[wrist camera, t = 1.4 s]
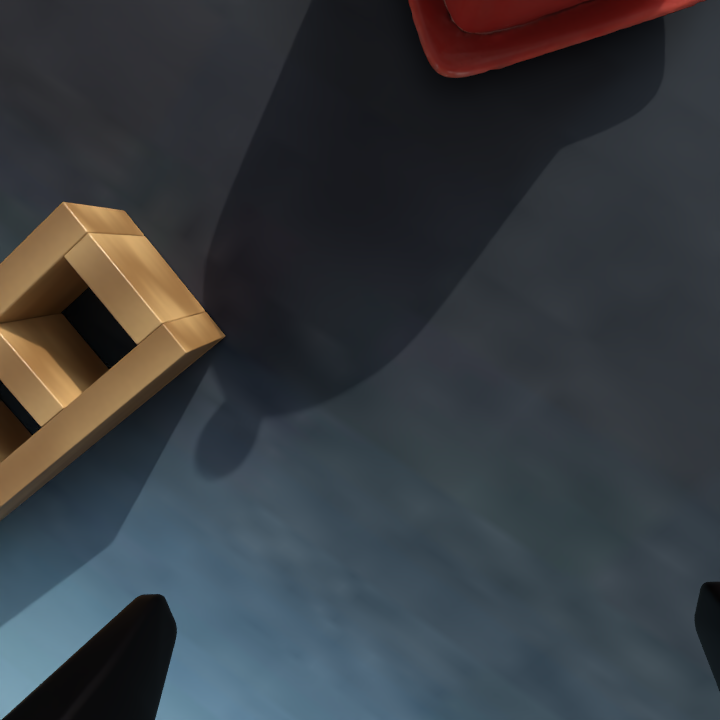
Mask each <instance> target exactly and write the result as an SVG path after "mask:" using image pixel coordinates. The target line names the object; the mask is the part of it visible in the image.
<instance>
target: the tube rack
mask: <svg viewBox="0 0 720 720" xmlns="http://www.w3.org/2000/svg"><path fill="white" fill-rule="evenodd" d="M88 287H90V289H91V290H92V291H93V292H94V293H95V295H96V296H97V297H98V298H99V299H100V301H101V302H102V303H103V304H104V305H105V307H106V308H107V309H108V310H109V312H110V313H111V314H112V315H113V316H114V318H115V319H116V320H117V321H118V322H119V324H120V325H121V326H122V327H123V328H124V330H125V331H126V332H127V333H128V334H129V336H130V337H131V338H132V339H133V340H134V342H135V343H136V344H137V346H136V347H135V348H134V349H133V350H132V351H130V352H129V353H128V354H127V355H126V356H125V357H123V358H122V359H121V360H120V361H119V362H118V363H116V364H115V365H114V366H113V367H112V368H111V369H108V368H107V366H106V365H105V364H104V363H103V362H102V361H101V359H100V358H99V357H98V356H97V355H96V353H95V352H94V351H93V350H92V349H91V347H90V346H89V345H88V344H87V343H86V341H85V340H84V339H83V338H82V337H81V336H80V334H79V333H78V332H77V331H76V330H75V328H74V327H73V326H72V325H71V324H70V322H69V321H68V320H67V319H66V318H65V316H64V315H63V314H62V313H61V312H62V311H63V310H64V309H66V308H67V307H68V306H69V305H70V304H71V303H72V302H73V301H74V300H75V299H76V298H77V297H79V296H80V295H81V294H82V293H83V292H84V291H85V290H86V289H87V288H88ZM224 337H225V335H224V333H223V332H222V331H221V330H220V328H219V327H218V326H217V325H216V323H215V322H214V321H213V320H212V319H211V317H210V316H209V315H208V314H207V312H205V310H204V309H203V307H202V306H201V305H200V304H199V302H198V301H197V300H196V299H195V297H194V296H193V295H192V294H191V293H190V291H189V290H188V289H187V288H186V286H185V285H184V284H183V283H182V281H181V280H180V279H179V278H178V276H177V275H176V274H175V273H174V271H173V270H172V269H171V268H170V267H169V265H168V264H167V263H166V262H165V260H164V259H163V258H162V257H161V255H160V254H159V253H158V252H157V250H156V249H155V248H154V247H153V245H152V244H151V243H150V242H149V240H148V239H147V238H146V237H145V236H144V234H143V233H142V232H141V231H140V230H139V228H138V227H137V226H136V225H135V223H134V222H133V221H132V220H131V218H130V217H129V216H128V215H127V213H126V212H125V211H123V210H116V209H109V208H102V207H95V206H88V205H81V204H74V203H67V202H63V203H61V204H60V205H59V206H58V207H57V208H56V209H55V210H54V211H53V212H52V213H51V214H50V215H49V216H48V217H47V218H46V219H45V220H44V221H43V222H42V223H41V224H40V225H39V226H38V227H37V228H36V229H35V230H34V231H33V232H32V233H31V234H30V235H29V236H28V237H27V238H26V239H25V240H24V241H23V242H22V243H21V244H20V245H19V246H18V247H17V248H16V249H15V250H14V251H13V252H12V253H11V254H10V255H9V256H8V257H7V258H6V259H5V260H4V261H3V262H2V263H1V264H0V380H1V381H2V382H3V384H4V385H5V386H6V387H7V388H8V389H9V391H10V392H11V393H12V394H13V395H14V396H15V397H16V399H17V400H18V401H19V402H20V403H21V404H22V406H23V407H24V408H25V409H26V410H27V411H28V412H29V414H30V415H31V416H32V417H33V418H34V419H35V421H36V422H37V423H38V424H39V425H40V426H41V427H42V428H41V429H40V430H38V431H37V432H36V433H35V434H34V435H33V436H32V435H31V434H30V432H29V431H28V430H27V429H26V428H25V427H24V426H23V424H22V423H21V422H20V421H19V420H18V419H17V417H16V416H15V415H14V414H13V413H12V412H11V411H10V409H9V408H8V407H7V406H6V405H5V404H4V403H3V401H2V400H1V399H0V521H1V520H2V519H4V518H5V517H6V516H7V515H8V514H10V513H11V512H12V511H13V510H15V509H16V508H17V507H18V506H19V505H21V504H22V503H23V502H24V501H26V500H27V499H28V498H29V497H30V496H32V495H33V494H34V493H35V492H36V491H38V490H39V489H40V488H41V487H43V486H44V485H45V484H46V483H47V482H49V481H50V480H51V479H52V478H54V477H55V476H56V475H57V474H58V473H60V472H61V471H62V470H63V469H65V468H66V467H67V466H68V465H69V464H71V463H72V462H73V461H74V460H75V459H77V458H78V457H79V456H80V455H82V454H83V453H84V452H85V451H86V450H88V449H89V448H90V447H91V446H93V445H94V444H95V443H96V442H97V441H99V440H100V439H101V438H102V437H104V436H105V435H106V434H107V433H108V432H110V431H111V430H112V429H113V428H114V427H116V426H117V425H118V424H119V423H121V422H122V421H123V420H124V419H125V418H127V417H128V416H129V415H130V414H132V413H133V412H134V411H135V410H136V409H138V408H139V407H140V406H141V405H143V404H144V403H145V402H146V401H147V400H149V399H150V398H151V397H152V396H153V395H155V394H156V393H157V392H158V391H160V390H161V389H162V388H163V387H164V386H166V385H167V384H168V383H169V382H171V381H172V380H173V379H174V378H175V377H177V376H178V375H179V374H180V373H182V372H183V371H184V370H185V369H186V368H188V367H189V366H190V365H191V364H192V363H194V362H195V361H196V360H197V359H199V358H200V357H201V356H202V355H203V354H205V353H206V352H207V351H208V350H210V349H211V348H212V347H213V346H214V345H216V344H217V343H218V342H219V341H221V340H222V339H223V338H224Z"/></svg>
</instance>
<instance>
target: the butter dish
mask: <svg viewBox="0 0 720 720" xmlns="http://www.w3.org/2000/svg"><path fill="white" fill-rule="evenodd" d="M408 1H409V5H410V8H411V11H412V17H413V21H414V24H415V26H416V30H417V32H418V36H419V39H420V43H421V45H422V47H423V50H424V53H425V55H426V57H427V59H428V61H429V63H430V65H431V66H432V67H433V69H434V70H435V71H436V72H437V73H438V74H440V75H442V76H444V77H451V78H461V77H467V76H472V75H476V74H480V73H484V72H486V71H488V70H493V69H502V68H504V67H506V66H509V65H512V64H515V63H518V62H521V61H524V60H528V59H531V58H534V57H537V56H540V55H543V54H546V53H549V52H553V51H556V50H559V49H563V48H566V47H569V46H572V45H575V44H579V43H582V42H585V41H588V40H591V39H594V38H596V37H600V36H603V35H607V34H609V33H612V32H615V31H617V30H620V29H624V28H628V27H631V26H633V25H636V24H640V23H642V22H645V21H648V20H653V19H655V18H657V17H660V16H665V15H667V14H669V13H674V12H676V11H678V10H682V9H685V8H688V7H691V6H694V5H695V4H697V3H698V2H704V1H706V0H408Z"/></svg>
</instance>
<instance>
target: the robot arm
mask: <svg viewBox="0 0 720 720" xmlns="http://www.w3.org/2000/svg"><path fill="white" fill-rule="evenodd" d="M695 627H696V631H697V634H698V637H699V639H700V642H701V644H702V647H703V650H704V652H705V655H706V657H707V660H708V662H709V665H710V668H711V670H712V673H713V675H714V678H715V681H716V683H717V686H718V688H719V691H720V582H706V583H704V584H703V585H702V586H701V589H700V594H699V598H698V603H697V607H696V612H695ZM176 634H177V627H176V623H175V620H174V618H173V615H172V613H171V611H170V608H169V606H168V604H167V601H166V599H165V597H164V596H162V595H160V594H147V595H141V596H138V597H137V598H135V599H134V600H133V601H132V602H131V603H130V604H129V605H128V606H126V607H125V608H124V609H123V610H122V611H121V612H120V613H119V614H118V615H117V616H115V617H114V618H113V619H112V620H111V621H110V622H109V623H108V624H107V625H106V626H104V627H103V628H102V629H101V630H100V631H99V632H98V633H97V634H96V635H95V636H93V637H92V638H91V639H90V640H89V641H88V642H87V643H86V644H85V645H83V646H82V647H81V648H80V649H79V650H78V651H77V652H76V653H75V654H74V655H72V656H71V657H70V658H69V659H68V660H67V661H66V662H65V663H64V664H63V665H61V666H60V667H59V668H58V669H57V670H56V671H55V672H54V673H53V674H52V675H50V676H49V677H48V678H47V679H46V680H45V681H44V682H43V683H42V684H40V685H39V686H38V687H37V688H36V689H35V690H34V691H33V692H32V693H31V694H29V695H28V696H27V697H26V698H25V699H24V700H23V701H22V702H21V703H20V704H18V705H17V706H16V707H15V708H14V709H13V710H12V711H11V712H10V713H8V714H7V715H6V716H5V717H4V718H3V719H2V720H155V718H156V714H157V710H158V706H159V702H160V698H161V694H162V691H163V687H164V683H165V679H166V675H167V671H168V667H169V664H170V660H171V656H172V652H173V648H174V644H175V640H176Z"/></svg>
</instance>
